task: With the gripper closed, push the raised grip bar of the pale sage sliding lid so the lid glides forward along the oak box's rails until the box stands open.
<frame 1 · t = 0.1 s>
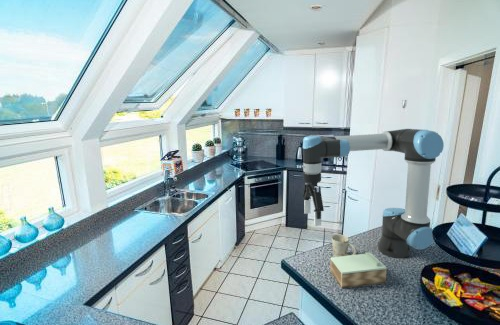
hand: (312, 219, 117), 28 cm above the worktop, fingers open, 13 cm apart
mug: (343, 257, 136), on the worktop
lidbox: (356, 277, 119), on the worktop
lid: (357, 261, 118), point 8 cm above the worktop, slide at 0.0 cm
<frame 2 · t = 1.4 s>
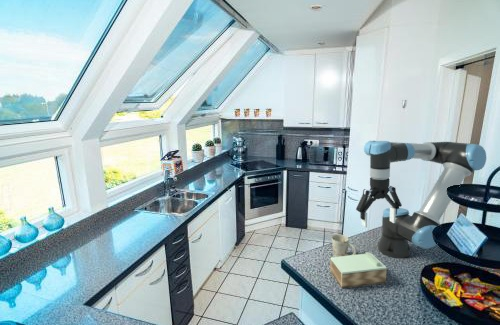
hand: (378, 224, 116), 25 cm above the worktop, fingers open, 13 cm apart
nothing on the worktop moved.
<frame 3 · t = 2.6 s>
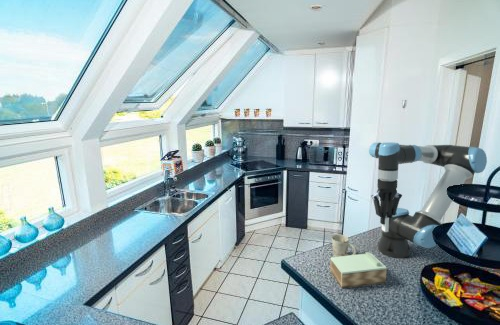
hand: (384, 230, 116), 21 cm above the worktop, fingers closed
nothing on the worktop moved.
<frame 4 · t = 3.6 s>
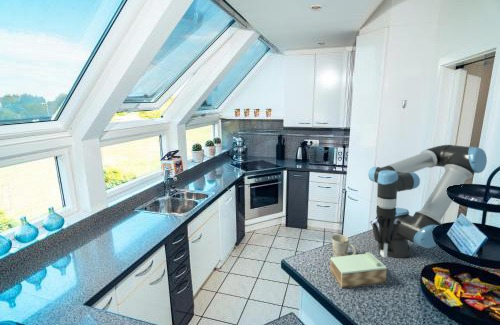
hand: (383, 255, 119), 9 cm above the worktop, fingers closed
nothing on the worktop moved.
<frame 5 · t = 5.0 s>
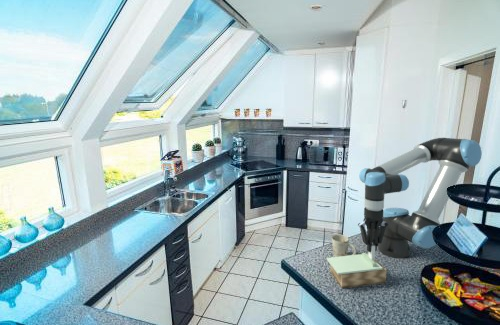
hand: (371, 257, 118), 9 cm above the worktop, fingers closed
lid: (353, 261, 118), point 8 cm above the worktop, slide at 1.8 cm, touching gripper
everything else where it was.
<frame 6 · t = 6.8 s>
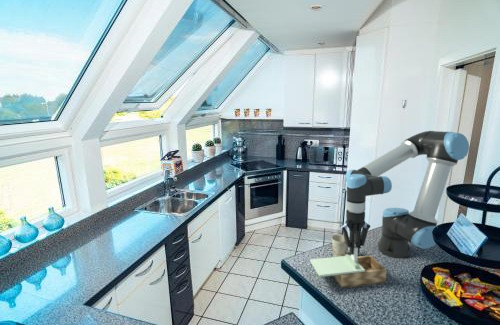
hand: (354, 260, 117), 9 cm above the worktop, fingers closed
lid: (336, 263, 117), point 8 cm above the worktop, slide at 9.8 cm, touching gripper
everything else where it was.
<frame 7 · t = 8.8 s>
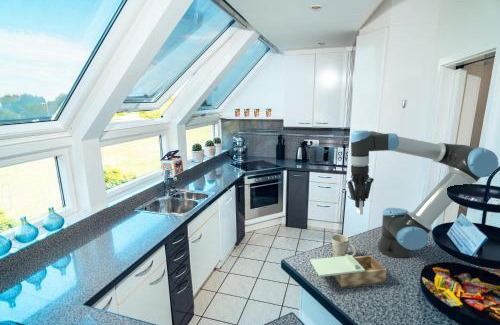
hand: (359, 213, 124), 26 cm above the worktop, fingers closed
lid: (336, 263, 117), point 8 cm above the worktop, slide at 9.8 cm
everything else where it was.
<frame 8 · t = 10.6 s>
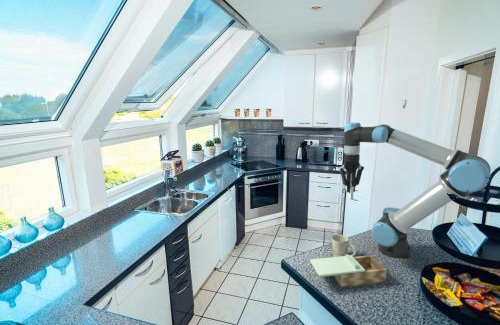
hand: (350, 198, 137), 29 cm above the worktop, fingers closed
nothing on the worktop moved.
at the end: lid slide at 9.8 cm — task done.
